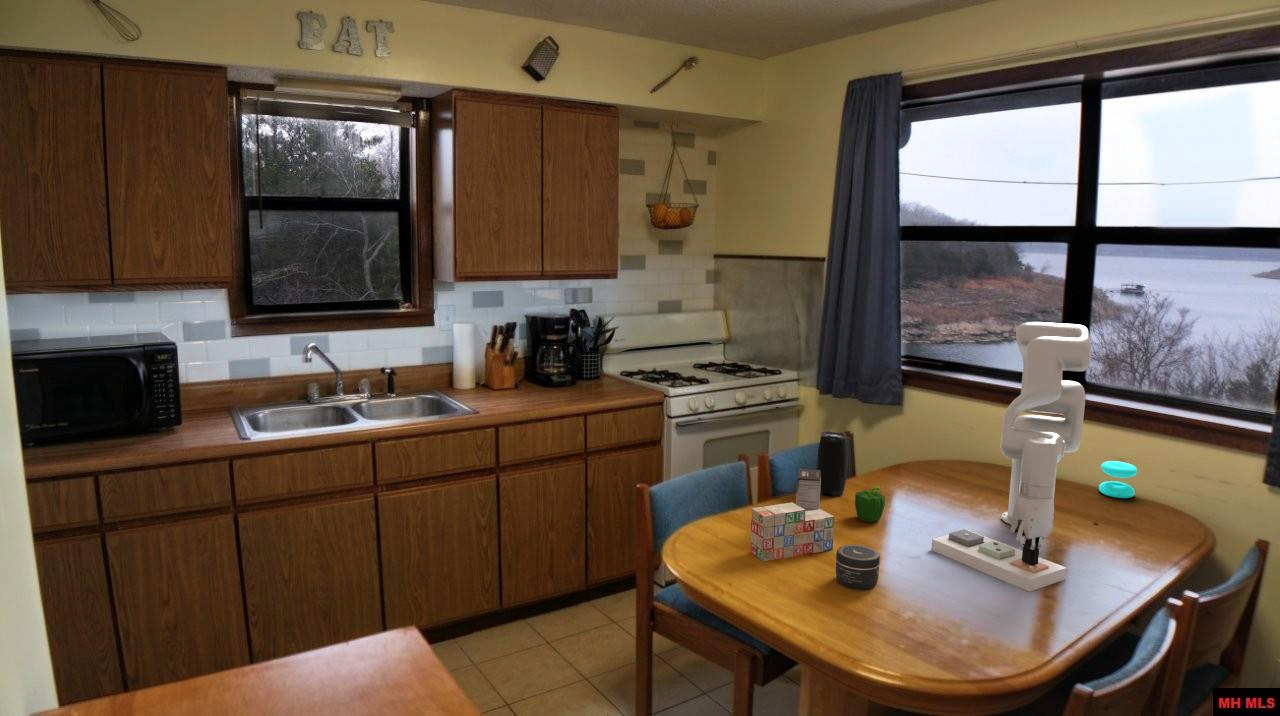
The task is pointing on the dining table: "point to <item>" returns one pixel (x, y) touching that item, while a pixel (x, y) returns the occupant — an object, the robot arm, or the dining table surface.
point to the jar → (857, 567)
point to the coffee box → (808, 489)
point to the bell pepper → (869, 504)
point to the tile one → (966, 538)
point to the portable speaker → (832, 462)
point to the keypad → (999, 564)
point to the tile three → (1029, 566)
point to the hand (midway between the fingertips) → (1029, 562)
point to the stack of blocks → (789, 531)
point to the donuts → (1116, 487)
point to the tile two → (996, 550)
